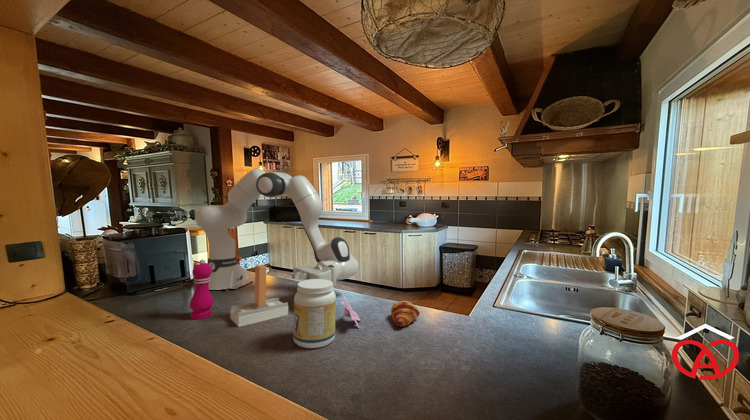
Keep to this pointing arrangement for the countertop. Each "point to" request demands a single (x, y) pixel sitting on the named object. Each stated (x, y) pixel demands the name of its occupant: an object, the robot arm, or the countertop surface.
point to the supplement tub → (314, 313)
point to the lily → (349, 311)
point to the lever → (260, 287)
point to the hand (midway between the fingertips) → (293, 276)
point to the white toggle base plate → (258, 312)
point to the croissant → (404, 313)
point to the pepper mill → (201, 292)
